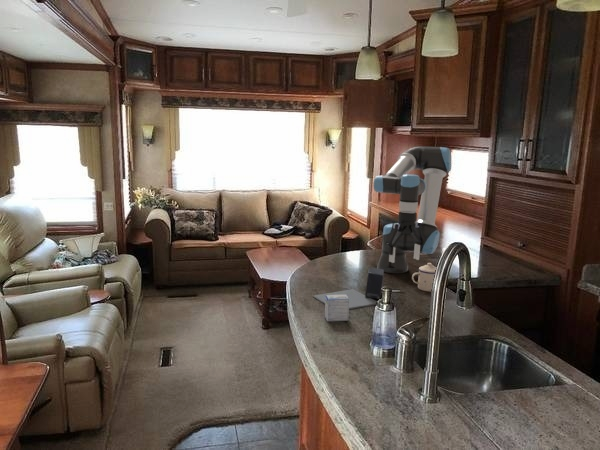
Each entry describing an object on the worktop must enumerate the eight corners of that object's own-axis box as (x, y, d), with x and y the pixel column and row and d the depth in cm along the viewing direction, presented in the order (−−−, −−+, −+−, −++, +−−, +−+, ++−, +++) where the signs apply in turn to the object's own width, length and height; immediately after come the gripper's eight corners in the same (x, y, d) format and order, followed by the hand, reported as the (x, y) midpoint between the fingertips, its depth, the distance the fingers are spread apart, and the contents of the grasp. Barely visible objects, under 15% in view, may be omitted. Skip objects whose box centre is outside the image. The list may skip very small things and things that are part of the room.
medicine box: (345, 316, 176) (346, 294, 174) (348, 321, 172) (349, 298, 170) (324, 317, 175) (325, 294, 173) (327, 322, 170) (328, 299, 169)
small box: (380, 299, 193) (383, 274, 192) (364, 297, 195) (367, 272, 193) (381, 292, 204) (384, 268, 202) (366, 290, 205) (368, 266, 203)
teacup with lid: (434, 285, 215) (436, 260, 213) (441, 292, 206) (443, 266, 204) (408, 285, 214) (409, 260, 212) (414, 292, 205) (416, 266, 203)
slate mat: (353, 290, 205) (353, 289, 205) (378, 304, 190) (379, 302, 189) (313, 296, 196) (313, 295, 196) (336, 311, 180) (336, 310, 180)
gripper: (424, 209, 209) (420, 256, 213) (378, 211, 197) (375, 261, 201) (436, 211, 202) (432, 260, 206) (390, 214, 191) (386, 265, 194)
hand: (404, 260), depth 204 cm, fingers open, 13 cm apart
